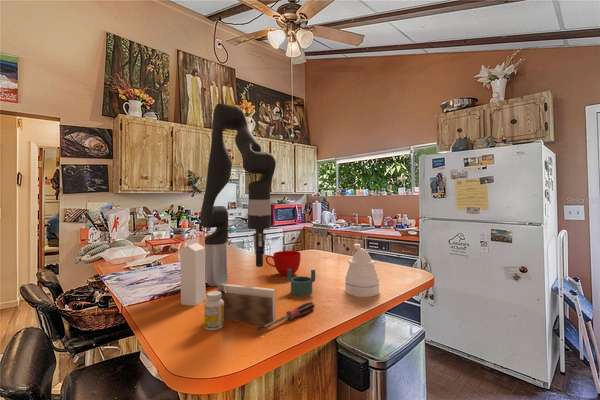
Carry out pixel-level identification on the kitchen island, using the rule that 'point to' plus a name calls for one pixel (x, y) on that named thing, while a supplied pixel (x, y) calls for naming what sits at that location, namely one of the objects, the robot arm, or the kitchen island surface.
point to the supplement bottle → (214, 311)
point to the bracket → (301, 284)
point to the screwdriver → (292, 314)
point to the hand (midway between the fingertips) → (259, 266)
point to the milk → (192, 273)
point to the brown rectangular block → (247, 308)
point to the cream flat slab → (249, 292)
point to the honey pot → (361, 275)
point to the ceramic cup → (285, 261)
